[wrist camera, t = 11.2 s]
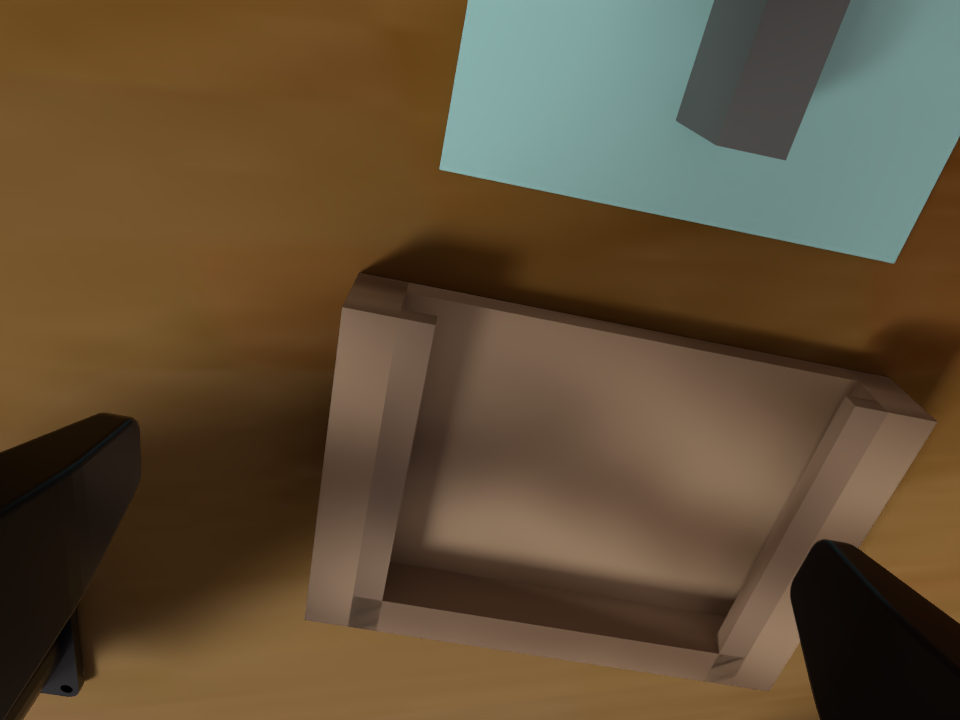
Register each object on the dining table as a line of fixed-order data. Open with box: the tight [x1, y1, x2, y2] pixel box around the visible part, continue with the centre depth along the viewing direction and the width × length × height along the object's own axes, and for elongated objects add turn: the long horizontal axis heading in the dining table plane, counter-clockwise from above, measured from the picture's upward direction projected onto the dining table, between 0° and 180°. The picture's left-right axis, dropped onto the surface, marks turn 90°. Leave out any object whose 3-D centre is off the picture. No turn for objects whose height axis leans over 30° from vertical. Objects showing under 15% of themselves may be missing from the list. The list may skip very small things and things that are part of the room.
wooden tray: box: [305, 273, 937, 691], centre depth 22 cm, size 12×17×3 cm
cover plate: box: [440, 0, 960, 263], centre depth 15 cm, size 10×13×4 cm
